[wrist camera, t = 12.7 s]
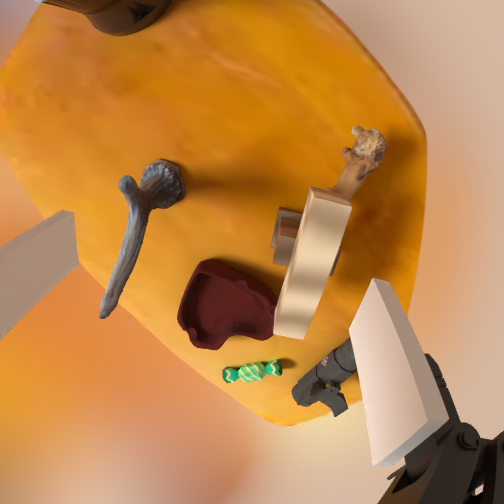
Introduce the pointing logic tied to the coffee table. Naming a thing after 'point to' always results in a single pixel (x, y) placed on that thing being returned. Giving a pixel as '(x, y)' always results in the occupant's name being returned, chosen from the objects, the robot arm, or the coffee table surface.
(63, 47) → the coffee table surface
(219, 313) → the ashtray
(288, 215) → the pedestal
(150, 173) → the antler
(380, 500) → the robot arm
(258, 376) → the candy
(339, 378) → the laser sight
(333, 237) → the block
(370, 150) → the lion figurine
